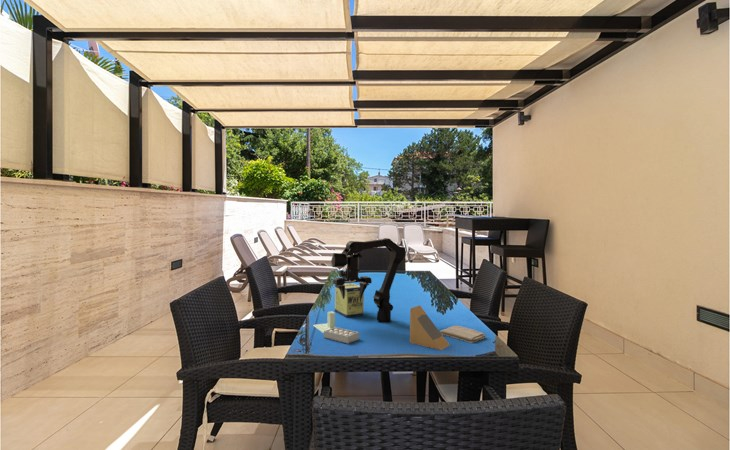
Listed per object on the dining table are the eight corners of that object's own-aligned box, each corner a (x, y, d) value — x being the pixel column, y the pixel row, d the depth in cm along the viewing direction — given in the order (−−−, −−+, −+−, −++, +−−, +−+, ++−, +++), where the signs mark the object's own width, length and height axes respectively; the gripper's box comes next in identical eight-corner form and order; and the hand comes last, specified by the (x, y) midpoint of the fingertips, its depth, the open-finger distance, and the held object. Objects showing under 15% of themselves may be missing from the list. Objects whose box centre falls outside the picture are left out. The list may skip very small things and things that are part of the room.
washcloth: (473, 344, 165) (473, 337, 165) (438, 335, 178) (438, 328, 178) (487, 339, 173) (487, 332, 173) (452, 330, 186) (453, 323, 186)
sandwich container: (442, 351, 156) (443, 314, 155) (409, 343, 165) (409, 308, 164) (451, 345, 162) (452, 310, 162) (419, 338, 172) (419, 304, 171)
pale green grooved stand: (329, 324, 192) (329, 308, 191) (340, 331, 180) (340, 315, 180) (313, 326, 188) (313, 310, 187) (323, 334, 176) (323, 317, 176)
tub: (335, 333, 176) (335, 326, 176) (358, 339, 168) (358, 332, 168) (324, 337, 169) (324, 331, 169) (347, 343, 162) (347, 336, 162)
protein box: (346, 317, 203) (347, 288, 203) (334, 311, 217) (334, 283, 217) (364, 315, 209) (364, 287, 208) (350, 309, 222) (351, 282, 222)
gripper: (362, 264, 202) (362, 293, 203) (329, 265, 194) (328, 296, 195) (372, 266, 192) (371, 297, 193) (337, 268, 184) (336, 300, 184)
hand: (352, 298), depth 191 cm, fingers open, 9 cm apart
